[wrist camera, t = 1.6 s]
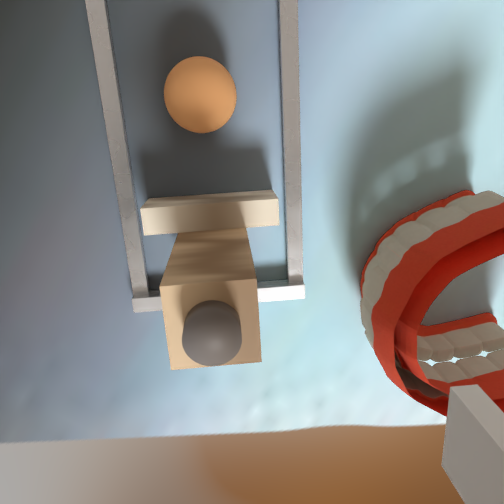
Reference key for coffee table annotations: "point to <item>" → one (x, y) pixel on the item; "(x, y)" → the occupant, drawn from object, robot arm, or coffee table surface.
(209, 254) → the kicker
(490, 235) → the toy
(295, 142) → the rails
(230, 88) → the ball
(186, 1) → the coffee table surface
